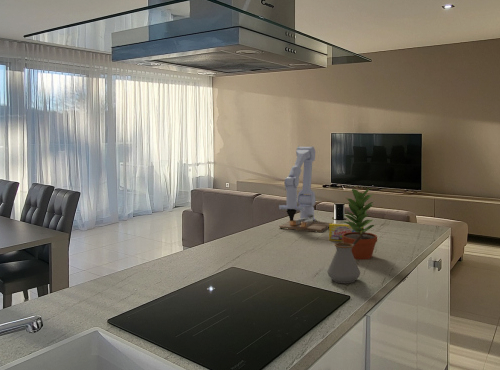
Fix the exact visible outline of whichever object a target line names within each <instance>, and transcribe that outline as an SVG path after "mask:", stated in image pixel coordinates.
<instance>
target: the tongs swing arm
mask: <svg viewBox="0 0 500 370" xmlns="http://www.w3.org/2000/svg"><path fill="white" fill-rule="evenodd" d="M306 220H307V218H306V217H305V218H300V217H299V218H297V219H296V218H295V219H293V220H291V221H290V220H289V221H290V225H291V226H294V225H297V224H301V222H304V221H306Z"/></svg>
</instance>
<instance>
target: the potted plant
mask: <svg viewBox="0 0 500 370" xmlns="http://www.w3.org/2000/svg"><path fill="white" fill-rule="evenodd" d="M371 187H372V186H370V188H367V189H366V190H365V191H363V193H362V192H360V191H358V190H357V189H354V188H353V187H352V189H351V192H352V194H353V196H354V199H355V200H353V199H352V198H347V197H346V200H347V201H348V208H349V209H350V211H351V212H349V211H347V210H346V211H345V210H344V212H345V213H347V214H344V213H342V215H343V216H344V217H346V218H347V219H348V221H345V220H344V221H340V222H342V223H343V224H348V225H350V226H351V227H352V229H353V230H354V231H356V232H348V233H344V234H342V240H343V241H342V243H350V244H353V242H354V241H355V240H356V238H357V237H358V236H359V235H360V234H361V233H362V232H363V231H364V232H365V233H364V234H363V235H364V236H362V237H361V238H360V240H359V241H358V242H357V243H356V244H355V245H354V246H353V248H352V249H351V251H352V254H353V256H354V259H355V260H361V261H362V260H369V259H371V258H373V253H374V250H375V246H376V243H377V242H378V235H376V234H375V233H371V232H367V231H368V230H370V229H372V228H373V227H375V226H376V225H377V223H375V224H370V223H371V222H373V220H374V218H372V219H365V218H367V217H368V216H369V215H370V213H368V214H367V211H368V210H369V209H371V208H372V207H373V206H374V205H375V203H374V201H371V202H369V203H368V204H366V205H365V203H366V202H367V201H368V200H369V199H370V198H372V196H373V195H374V193H372V194H367V193H368V191H369V190H370V189H371ZM364 219H365V220H364ZM368 224H370V225H368ZM366 225H368V226H367V227H365V226H366ZM362 227H365V228H362ZM366 233H367V234H366ZM366 235H367V236H366Z"/></svg>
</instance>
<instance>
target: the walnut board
mask: <svg viewBox="0 0 500 370" xmlns="http://www.w3.org/2000/svg"><path fill="white" fill-rule="evenodd" d="M329 224H333V222H326V221H324V222H323V221H316V220H314V221H313V223H312V224H310V225H308V226H306V227H301V224H297V225H294V226H291V225H290V220H289V221H287V222H285V223H283V224H281V225H279V226H278V227H280V228H288V229H287V230H289V229H297V230H296V231H300V230H308V231H307V232H311V231H317V232H316V233H322V231H323V232H324V231H326V230H327V229H329V228H328V227H329ZM325 229H326V230H325Z"/></svg>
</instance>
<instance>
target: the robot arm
mask: <svg viewBox="0 0 500 370" xmlns="http://www.w3.org/2000/svg"><path fill="white" fill-rule="evenodd" d="M295 152H296V154H295V155H296V160H295V163H294V165H293V166H292V167H291V168H290V171H289V174H288V176H287V177H285V178H284V187H285V190H286V205H285V204H283V205H281V204H279V205H278V209H279V210H286V213H287V215H288V217H289V221H291V220H294V218H295V215H296V213H297V211H300V213H299V214H300V216H299V219H300V218H305V217H306V218H307V220H308V215H310V214H311V215H314V217H313V220H314V221H316V218H315V208H314V206H315V204H316V201H317V200H316V193H315V191H313V190H312V175H313V174H312V173H313V162H314V161H316V149H315V146H313V145H311V146H297V148H296V151H295ZM302 166H303V172H302V169H301V168H302ZM301 173H303V174H302V187H301V188H302V189H301V190H300V191H299V192H298V190H297V189H298V186H299V184H300V183H299V182H300V175H301Z"/></svg>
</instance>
